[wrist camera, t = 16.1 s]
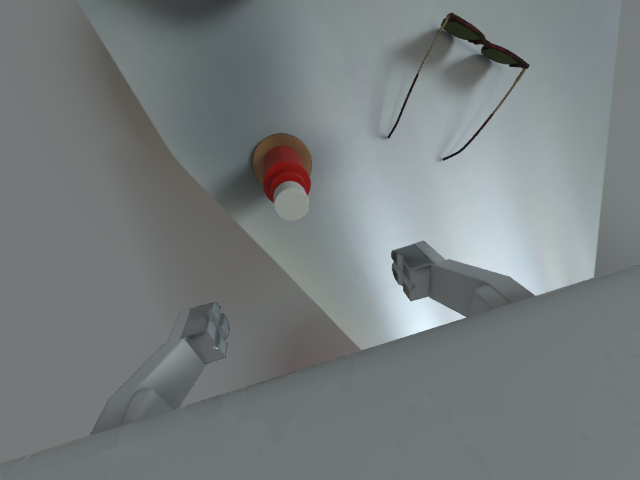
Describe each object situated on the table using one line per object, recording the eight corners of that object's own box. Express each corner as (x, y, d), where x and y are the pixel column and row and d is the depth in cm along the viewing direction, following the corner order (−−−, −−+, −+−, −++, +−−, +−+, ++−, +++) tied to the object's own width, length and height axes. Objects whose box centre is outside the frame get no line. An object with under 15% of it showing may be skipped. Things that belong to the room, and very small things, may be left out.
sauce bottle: (270, 186, 38) (272, 237, 25) (258, 151, 36) (253, 186, 22) (304, 177, 39) (325, 222, 25) (295, 141, 36) (313, 169, 22)
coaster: (264, 198, 40) (264, 199, 39) (243, 142, 35) (243, 142, 35) (316, 184, 40) (317, 185, 40) (303, 126, 36) (304, 126, 35)
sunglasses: (504, 66, 36) (532, 66, 32) (444, 160, 44) (462, 170, 40) (429, 18, 32) (452, 11, 28) (377, 133, 39) (389, 140, 35)
